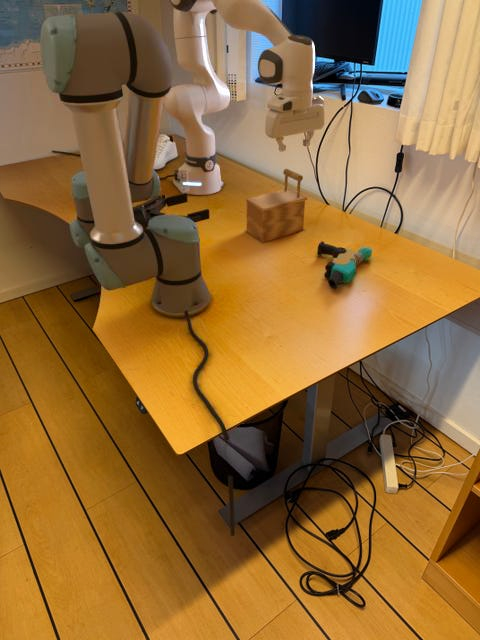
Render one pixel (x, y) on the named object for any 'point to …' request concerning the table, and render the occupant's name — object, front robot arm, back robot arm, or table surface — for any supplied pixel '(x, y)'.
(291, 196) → the lid
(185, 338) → the table surface
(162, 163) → the sneaker
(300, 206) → the chest
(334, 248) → the toy gun
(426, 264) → the table surface
